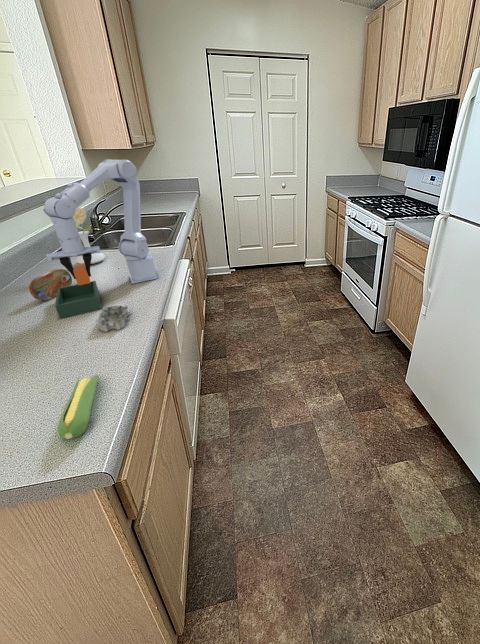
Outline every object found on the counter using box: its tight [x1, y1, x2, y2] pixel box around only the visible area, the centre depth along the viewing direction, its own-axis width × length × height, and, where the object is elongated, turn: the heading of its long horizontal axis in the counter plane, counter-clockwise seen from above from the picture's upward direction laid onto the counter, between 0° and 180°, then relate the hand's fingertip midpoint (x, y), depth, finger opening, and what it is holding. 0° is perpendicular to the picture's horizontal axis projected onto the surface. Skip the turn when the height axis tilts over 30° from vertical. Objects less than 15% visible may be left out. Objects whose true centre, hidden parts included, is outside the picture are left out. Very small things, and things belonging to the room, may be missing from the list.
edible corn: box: [57, 374, 99, 440], centre depth 70 cm, size 5×20×5 cm, turn 19°
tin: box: [28, 268, 73, 301], centre depth 119 cm, size 15×3×8 cm, turn 168°
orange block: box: [72, 263, 91, 286], centre depth 110 cm, size 4×7×5 cm, turn 31°
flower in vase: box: [73, 206, 106, 265], centre depth 144 cm, size 13×11×25 cm
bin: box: [54, 280, 102, 320], centre depth 113 cm, size 12×16×4 cm
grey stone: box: [95, 305, 130, 333], centre depth 101 cm, size 11×8×4 cm
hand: (82, 276), depth 111 cm, fingers closed on orange block, 3 cm apart
